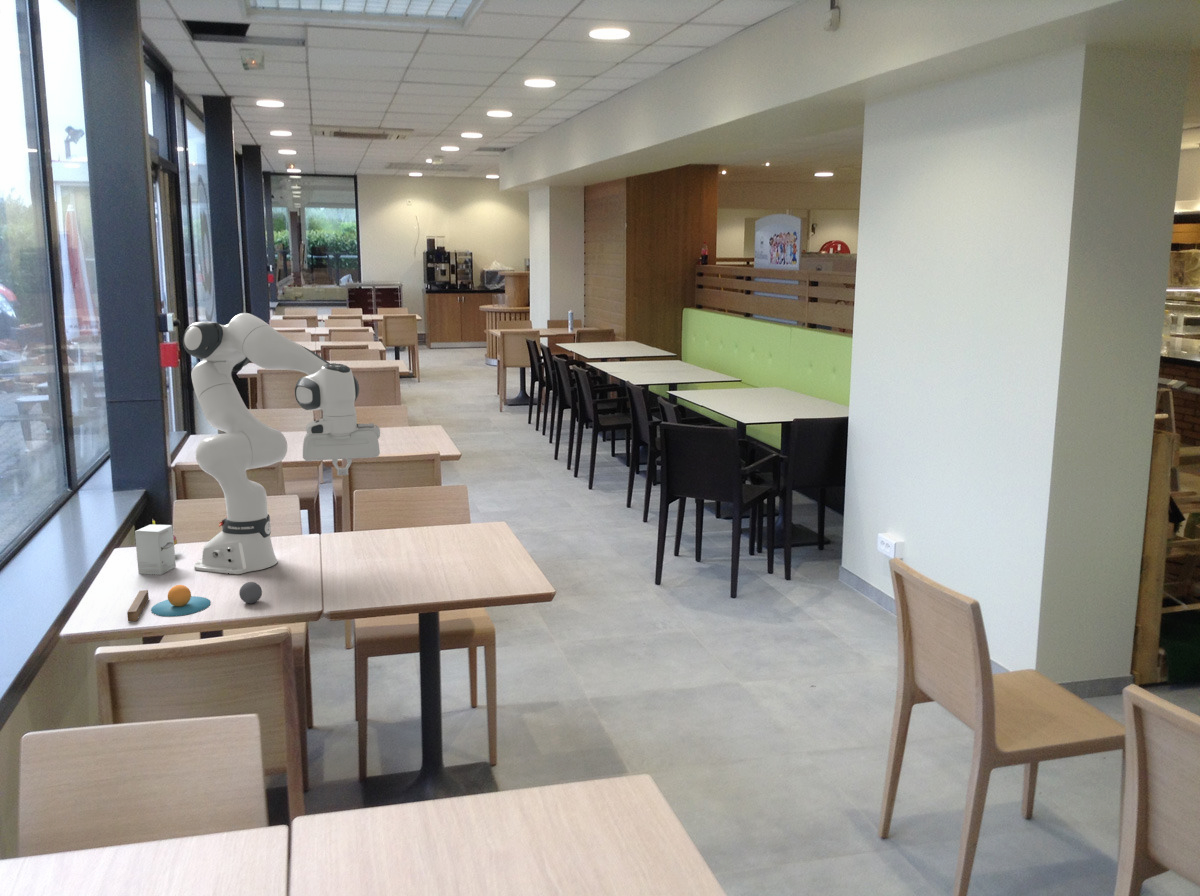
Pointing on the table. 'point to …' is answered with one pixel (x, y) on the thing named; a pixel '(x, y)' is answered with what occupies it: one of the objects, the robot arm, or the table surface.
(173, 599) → the orange ball
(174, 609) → the teal mark
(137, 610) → the wall
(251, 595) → the gray ball
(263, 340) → the robot arm
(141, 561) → the supplement box
